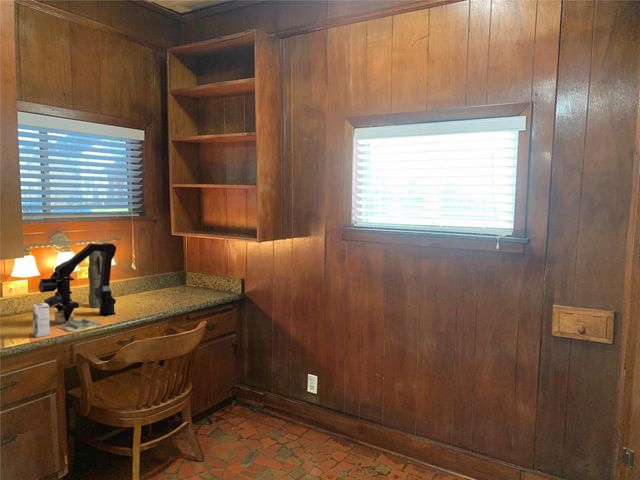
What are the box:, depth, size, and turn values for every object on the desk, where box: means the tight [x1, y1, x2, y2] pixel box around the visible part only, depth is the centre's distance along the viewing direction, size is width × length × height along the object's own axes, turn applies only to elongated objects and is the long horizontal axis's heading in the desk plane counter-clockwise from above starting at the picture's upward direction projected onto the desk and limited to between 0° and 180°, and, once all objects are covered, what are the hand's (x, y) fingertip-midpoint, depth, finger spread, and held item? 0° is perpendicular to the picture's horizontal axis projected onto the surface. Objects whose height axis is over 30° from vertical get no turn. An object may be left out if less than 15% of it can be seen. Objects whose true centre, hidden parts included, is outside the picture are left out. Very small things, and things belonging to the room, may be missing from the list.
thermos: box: [87, 251, 102, 309], centre depth 254 cm, size 9×12×35 cm
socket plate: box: [57, 318, 103, 333], centre depth 215 cm, size 16×12×2 cm
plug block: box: [54, 310, 75, 326], centre depth 220 cm, size 7×4×6 cm, turn 145°
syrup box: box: [32, 302, 51, 338], centre depth 200 cm, size 6×6×14 cm
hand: (64, 319), depth 221 cm, fingers closed on plug block, 4 cm apart
